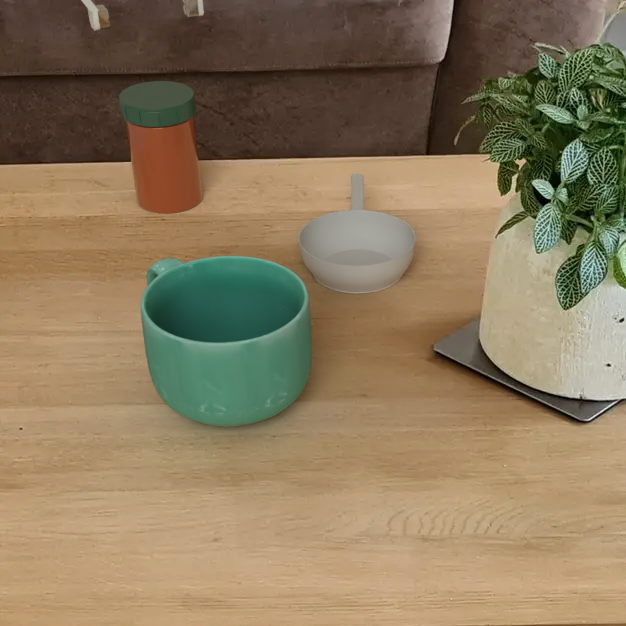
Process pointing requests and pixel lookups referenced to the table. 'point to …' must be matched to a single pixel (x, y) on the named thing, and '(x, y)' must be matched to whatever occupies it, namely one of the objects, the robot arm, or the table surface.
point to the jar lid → (157, 103)
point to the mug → (226, 337)
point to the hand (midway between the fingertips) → (148, 21)
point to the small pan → (357, 246)
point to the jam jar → (165, 166)
